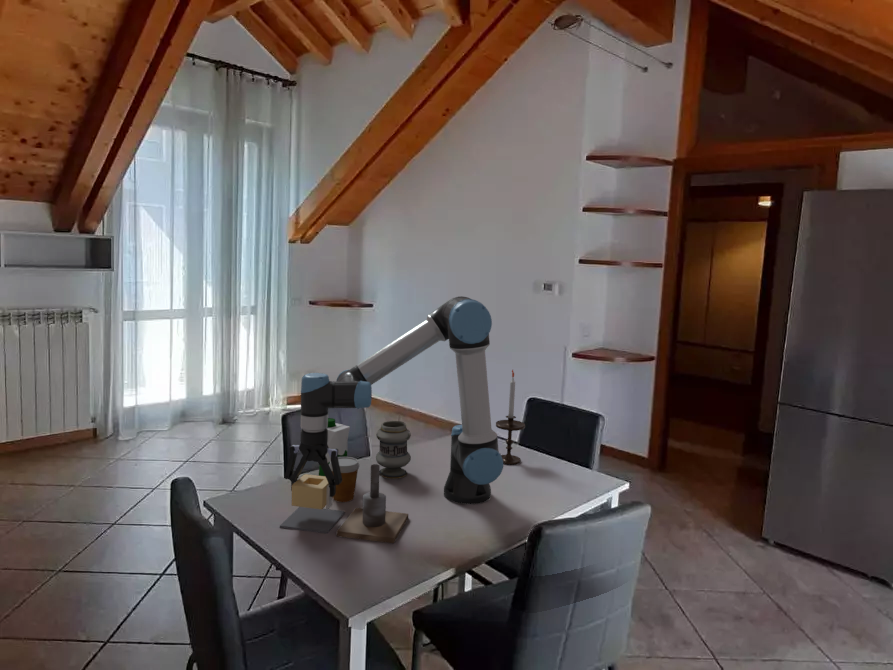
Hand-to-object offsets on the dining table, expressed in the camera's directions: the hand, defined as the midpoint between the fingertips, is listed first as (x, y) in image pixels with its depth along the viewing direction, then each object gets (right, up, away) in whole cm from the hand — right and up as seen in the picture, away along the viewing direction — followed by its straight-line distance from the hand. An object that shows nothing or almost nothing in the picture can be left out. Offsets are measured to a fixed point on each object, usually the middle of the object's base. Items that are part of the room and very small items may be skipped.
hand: (313, 504), depth 181 cm
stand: (+18, -6, -3) cm, 19 cm away
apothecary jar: (+19, 0, +39) cm, 44 cm away
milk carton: (0, 0, +33) cm, 33 cm away
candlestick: (+61, +1, +57) cm, 84 cm away
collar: (0, +1, 0) cm, 1 cm away
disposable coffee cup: (+6, -3, +17) cm, 18 cm away
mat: (0, -4, +1) cm, 4 cm away
